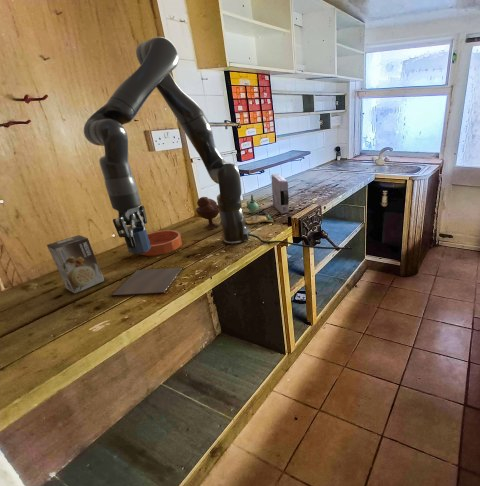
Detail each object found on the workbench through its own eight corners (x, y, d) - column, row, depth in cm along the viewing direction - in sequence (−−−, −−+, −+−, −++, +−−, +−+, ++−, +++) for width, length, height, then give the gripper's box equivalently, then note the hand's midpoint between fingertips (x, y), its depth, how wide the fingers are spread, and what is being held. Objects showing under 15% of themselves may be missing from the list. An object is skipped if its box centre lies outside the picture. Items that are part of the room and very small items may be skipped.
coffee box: (96, 276, 109) (79, 234, 102) (105, 281, 106) (89, 237, 99) (65, 288, 102) (46, 244, 95) (74, 294, 99) (54, 248, 92)
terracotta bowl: (187, 238, 138) (185, 229, 136) (173, 255, 123) (170, 245, 121) (149, 240, 137) (146, 231, 135) (130, 257, 122) (127, 247, 120)
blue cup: (154, 246, 103) (149, 226, 100) (145, 254, 97) (139, 233, 94) (135, 246, 103) (129, 227, 100) (125, 255, 97) (118, 234, 94)
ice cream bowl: (216, 231, 145) (210, 200, 139) (195, 230, 147) (188, 199, 141) (227, 223, 154) (222, 193, 148) (207, 222, 156) (201, 193, 150)
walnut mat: (182, 268, 112) (182, 267, 112) (164, 293, 98) (164, 292, 98) (137, 271, 112) (137, 269, 111) (112, 296, 97) (111, 294, 97)
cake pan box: (290, 213, 166) (288, 180, 158) (281, 214, 164) (278, 181, 157) (281, 203, 182) (278, 173, 174) (272, 205, 180) (269, 174, 173)
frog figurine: (266, 227, 148) (260, 197, 142) (236, 226, 155) (229, 197, 150) (277, 220, 156) (271, 191, 150) (248, 220, 163) (241, 192, 157)
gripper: (122, 197, 86) (139, 252, 93) (147, 185, 99) (160, 233, 106) (94, 198, 85) (113, 253, 92) (122, 186, 98) (137, 234, 105)
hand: (138, 242), depth 99 cm, fingers closed on blue cup, 6 cm apart
